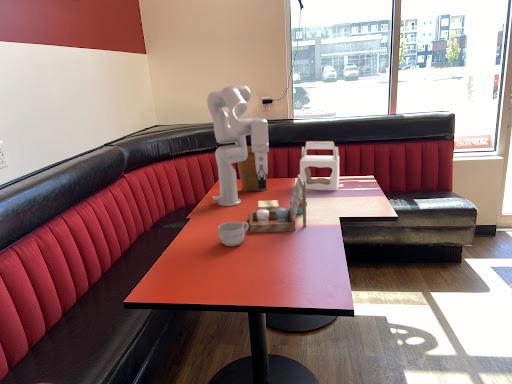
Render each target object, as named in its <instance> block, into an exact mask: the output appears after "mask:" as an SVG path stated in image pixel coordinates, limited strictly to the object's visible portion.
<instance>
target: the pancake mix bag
mask: <svg viewBox="0 0 512 384" xmlns="http://www.w3.org/2000/svg"><path fill="white" fill-rule="evenodd" d="M247 152H248V156H247V159H246V160H245V161H242V162H237V167H238V171H239V177H240V182H241V191H244V192H264V191H268V190H269V187H268V174H265V179H266V188H265V189H259V185H258V174H257V171H256V164H255V153H254V152H252V145H247ZM268 163H269V151H268V152H267V165H269V164H268Z"/></svg>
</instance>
